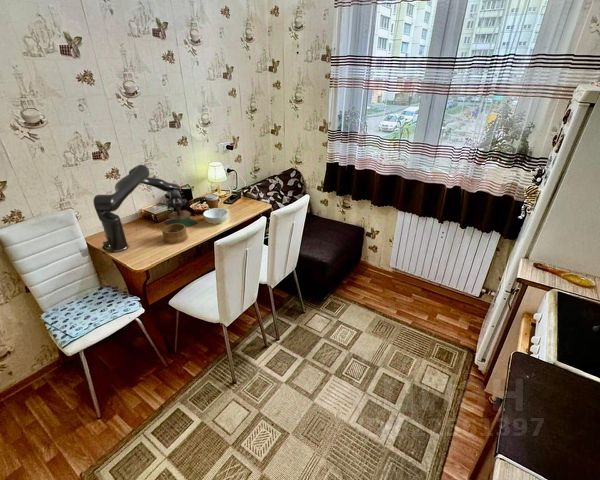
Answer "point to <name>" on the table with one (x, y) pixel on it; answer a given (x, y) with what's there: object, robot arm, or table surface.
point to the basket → (174, 233)
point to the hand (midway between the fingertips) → (178, 206)
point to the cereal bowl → (215, 215)
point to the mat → (182, 222)
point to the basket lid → (178, 213)
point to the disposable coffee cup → (212, 200)
